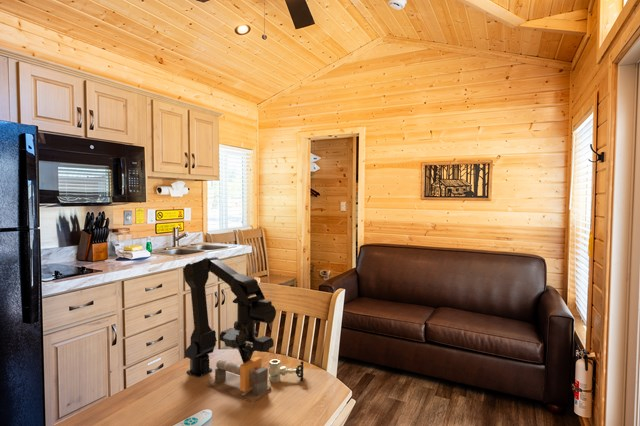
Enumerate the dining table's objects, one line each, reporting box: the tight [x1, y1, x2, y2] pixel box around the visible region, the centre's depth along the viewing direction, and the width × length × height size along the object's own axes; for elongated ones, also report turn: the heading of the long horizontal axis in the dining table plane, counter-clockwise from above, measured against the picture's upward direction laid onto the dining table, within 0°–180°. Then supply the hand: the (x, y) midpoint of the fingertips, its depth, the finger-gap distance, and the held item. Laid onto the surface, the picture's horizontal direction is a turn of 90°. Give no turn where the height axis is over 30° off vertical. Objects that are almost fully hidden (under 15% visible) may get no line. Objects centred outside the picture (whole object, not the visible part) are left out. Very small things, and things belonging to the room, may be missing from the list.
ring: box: [239, 356, 262, 392], centre depth 123 cm, size 2×8×8 cm, turn 149°
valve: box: [268, 359, 305, 383], centre depth 131 cm, size 7×7×12 cm
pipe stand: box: [206, 358, 272, 403], centre depth 125 cm, size 20×9×8 cm, turn 59°
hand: (245, 365), depth 124 cm, fingers closed
